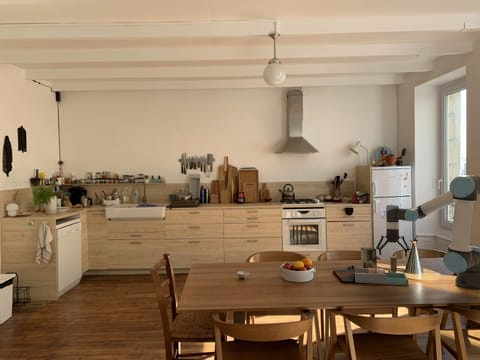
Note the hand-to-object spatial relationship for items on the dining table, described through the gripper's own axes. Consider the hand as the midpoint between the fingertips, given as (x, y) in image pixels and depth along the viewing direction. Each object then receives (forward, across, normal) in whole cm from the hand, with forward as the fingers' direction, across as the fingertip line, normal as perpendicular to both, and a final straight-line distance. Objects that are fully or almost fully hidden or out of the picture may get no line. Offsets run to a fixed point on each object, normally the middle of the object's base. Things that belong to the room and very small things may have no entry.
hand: (392, 260), depth 236 cm
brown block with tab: (+9, 0, 0) cm, 9 cm away
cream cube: (+6, +9, +14) cm, 18 cm away
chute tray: (+9, 0, +14) cm, 17 cm away
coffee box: (+10, +15, -5) cm, 18 cm away
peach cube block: (+6, +14, +14) cm, 21 cm away
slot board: (+9, +15, +14) cm, 22 cm away
